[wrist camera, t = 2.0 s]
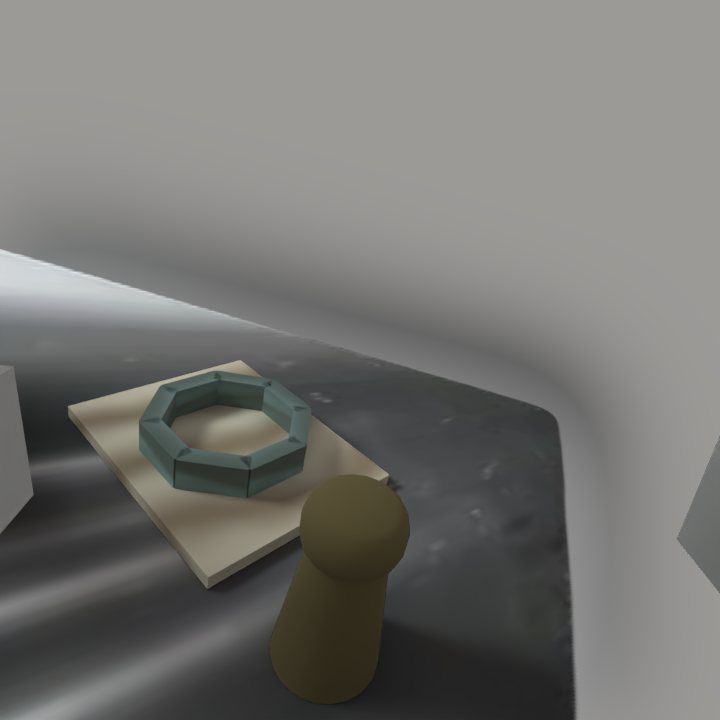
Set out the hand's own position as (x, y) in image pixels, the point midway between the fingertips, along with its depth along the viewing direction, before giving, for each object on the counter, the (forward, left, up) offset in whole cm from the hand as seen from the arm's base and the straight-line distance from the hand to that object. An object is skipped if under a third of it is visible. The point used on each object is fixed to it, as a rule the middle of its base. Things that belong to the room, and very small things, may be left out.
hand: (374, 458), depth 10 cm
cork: (-6, +9, -22) cm, 24 cm away
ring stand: (-23, +14, -22) cm, 35 cm away
